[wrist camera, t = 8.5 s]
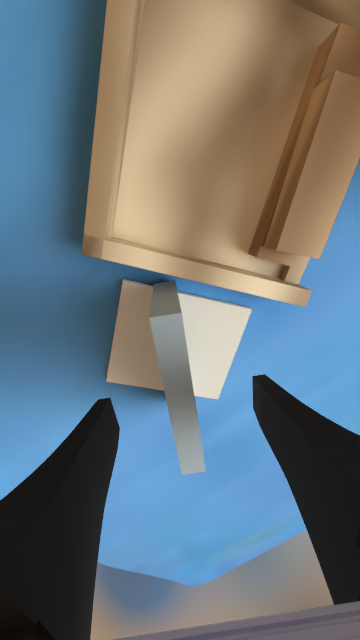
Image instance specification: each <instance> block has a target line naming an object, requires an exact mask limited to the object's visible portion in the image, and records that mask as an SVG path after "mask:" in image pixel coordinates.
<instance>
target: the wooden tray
mask: <svg viewBox="0 0 360 640" xmlns="http://www.w3.org/2000/svg"><path fill="white" fill-rule="evenodd" d="M340 23H343V24H346V25H348V26H350V27H352V28H354V29H357V30H359V31H360V0H107V6H106V16H105V26H104V36H103V46H102V56H101V66H100V76H99V86H98V96H97V106H96V116H95V126H94V136H93V146H92V156H91V166H90V176H89V186H88V196H87V206H86V216H85V226H84V236H83V246H82V255H87V256H91V257H95V258H99V259H104V260H108V261H112V262H116V263H121V264H125V265H129V266H133V267H138V268H142V269H146V270H150V271H155V272H159V273H163V274H167V275H172V276H176V277H180V278H184V279H189V280H193V281H197V282H201V283H206V284H210V285H214V286H218V287H223V288H227V289H231V290H235V291H240V292H244V293H248V294H252V295H257V296H261V297H265V298H269V299H274V300H278V301H282V302H286V303H291V304H295V305H299V306H303V307H305V306H306V304H307V302H308V300H309V298H310V295H311V293H312V291H311V290H309V289H307V288H305V287H303V286H301V285H298V284H299V282H300V279H301V277H302V275H303V273H304V270H305V268H306V266H307V263H308V261H309V259H310V257H307V256H302V255H299V258H298V260H297V262H296V265H295V267H291V266H287V265H284V264H280V263H276V262H272V261H268V260H265V259H261V258H257V257H254V256H252V255H249V254H248V251H249V248H250V245H251V242H252V240H253V237H254V234H255V231H256V228H257V225H258V222H259V219H260V216H261V213H262V210H263V207H264V204H265V202H266V199H267V196H268V193H269V190H270V187H271V184H272V181H273V178H274V175H275V172H276V169H277V167H278V164H279V161H280V158H281V155H282V152H283V149H284V146H285V143H286V140H287V137H288V134H289V132H290V129H291V126H292V123H293V120H294V117H295V114H296V111H297V108H298V105H299V102H300V99H301V96H302V94H303V91H304V88H305V85H306V82H307V79H308V76H309V73H310V70H311V67H312V64H313V61H314V59H315V56H316V53H317V50H318V47H319V46H320V45H321V44H322V43H323V42H324V40H325V39H326V38H327V37H328V36H329V35H330V34H331V33H332V32H333V31H334V29H335V28H336V27H337V26H338V25H339V24H340Z"/></svg>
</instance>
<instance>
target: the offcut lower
mask: <svg viewBox="0 0 360 640" xmlns="http://www.w3.org/2000/svg"><path fill="white" fill-rule="evenodd" d="M335 70H337V71H340V72H343V73H346V74H349V75H352V76H355V77H358V78H360V31H359V30H357V29H354V28H352V27H350V26H348V25H346V24H343V23H340V24H339V25H338V26H337V27H336V28H335V29H334V31H333V32H332V33H331V34H330V35H329V36H328V37H327V38H326V39H325V40H324V42H323V43H322V44H321V45H320V46H319V47H318V50H317V53H316V56H315V59H314V61H313V64H312V67H311V70H310V73H309V76H308V79H307V82H306V85H305V88H304V91H303V94H302V96H301V99H300V102H299V105H298V108H297V111H296V114H295V117H294V120H293V123H292V126H291V129H290V132H289V134H288V137H287V140H286V143H285V146H284V149H283V152H282V155H281V158H280V161H279V164H278V167H277V169H276V172H275V175H274V178H273V181H272V184H271V187H270V190H269V193H268V196H267V199H266V202H265V204H264V207H263V210H262V213H261V216H260V219H259V222H258V225H257V228H256V231H255V234H254V237H253V240H252V242H251V245H250V248H249V251H248V254H249V255H252V256H254V257H257V258H261V259H265V260H268V261H272V262H276V263H280V264H284V265H287V266H291V267H295V265H296V262H297V260H298V258H299V255H297V254H292V253H288V252H283V251H278V250H274V249H270V248H266V247H264V245H265V242H266V238H267V235H268V232H269V229H270V225H271V222H272V219H273V216H274V213H275V209H276V206H277V203H278V200H279V197H280V193H281V190H282V187H283V184H284V181H285V177H286V174H287V171H288V168H289V164H290V161H291V158H292V155H293V152H294V148H295V145H296V142H297V139H298V136H299V132H300V129H301V126H302V123H303V119H304V116H305V113H306V110H307V107H308V103H309V100H310V97H311V94H312V91H313V89H315V88H316V87H317V86H318V85H319V84H320V83H322V82H323V81H324V80H325V79H326V78H327V77H329V76H330V75H331V74H332V73H333V72H334V71H335Z"/></svg>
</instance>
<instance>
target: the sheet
mask: <svg viewBox="0 0 360 640" xmlns="http://www.w3.org/2000/svg"><path fill="white" fill-rule="evenodd" d="M149 320H150V325H151V329H152V334H153V339H154V344H155V348H156V353H157V358H158V363H159V368H160V372H161V377H162V382H163V387H164V391H165V396H166V401H167V406H168V411H169V415H170V420H171V425H172V430H173V435H174V439H175V444H176V449H177V454H178V458H179V463H180V468H181V473H182V475H185V474H191V473H197V472H203V471H206V470H205V463H204V457H203V450H202V443H201V437H200V430H199V424H198V417H197V410H196V404H195V397H194V390H193V384H192V377H191V370H190V364H189V357H188V351H187V344H186V337H185V331H184V324H183V317H182V311H181V307H180V302H179V297H178V293H177V288H176V283H175V280H173V281H167V282H161V283H154V285H153V292H152V300H151V308H150V315H149Z"/></svg>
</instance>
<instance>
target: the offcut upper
mask: <svg viewBox="0 0 360 640" xmlns="http://www.w3.org/2000/svg"><path fill="white" fill-rule="evenodd" d="M359 159H360V78H358V77H355V76H352V75H349V74H346V73H343V72H340V71H337V70H335V71H334V72H333V73H332V74H331V75H330V76H329V77H327V78H326V79H325V80H324V81H323V82H322V83H320V84H319V85H318V86H317V87H316V88H315V89H313V91H312V94H311V97H310V100H309V103H308V107H307V110H306V113H305V116H304V119H303V123H302V126H301V129H300V132H299V136H298V139H297V142H296V145H295V148H294V152H293V155H292V158H291V161H290V164H289V168H288V171H287V174H286V177H285V181H284V184H283V187H282V190H281V193H280V197H279V200H278V203H277V206H276V209H275V213H274V216H273V219H272V222H271V225H270V229H269V232H268V235H267V238H266V242H265V245H264V247H266V248H270V249H274V250H278V251H283V252H288V253H292V254H297V255H302V256H307V257H312V258H317V259H320V257H321V254H322V252H323V249H324V247H325V244H326V242H327V239H328V237H329V234H330V232H331V229H332V227H333V224H334V222H335V219H336V217H337V214H338V212H339V209H340V207H341V204H342V202H343V199H344V196H345V194H346V191H347V189H348V186H349V184H350V181H351V179H352V176H353V174H354V171H355V169H356V166H357V164H358V161H359Z"/></svg>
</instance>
